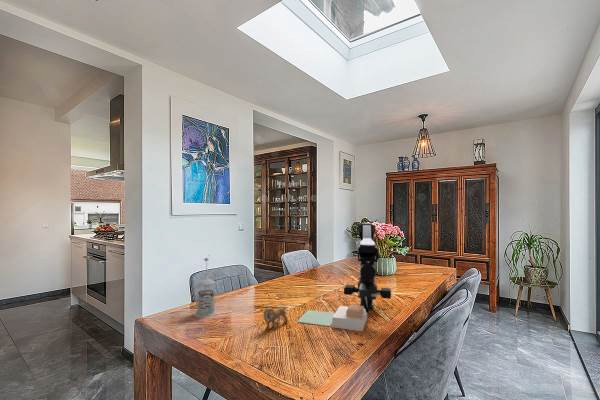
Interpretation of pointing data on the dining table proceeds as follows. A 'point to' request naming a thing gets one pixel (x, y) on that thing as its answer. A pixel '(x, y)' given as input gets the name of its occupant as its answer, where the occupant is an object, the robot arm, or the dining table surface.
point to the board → (348, 320)
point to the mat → (317, 318)
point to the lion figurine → (274, 316)
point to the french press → (205, 299)
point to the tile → (355, 311)
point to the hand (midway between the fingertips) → (367, 312)
